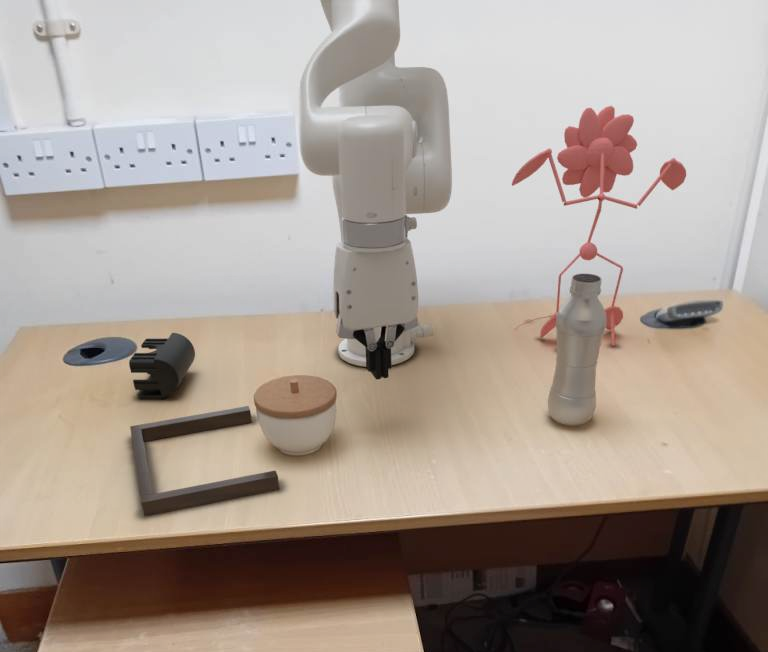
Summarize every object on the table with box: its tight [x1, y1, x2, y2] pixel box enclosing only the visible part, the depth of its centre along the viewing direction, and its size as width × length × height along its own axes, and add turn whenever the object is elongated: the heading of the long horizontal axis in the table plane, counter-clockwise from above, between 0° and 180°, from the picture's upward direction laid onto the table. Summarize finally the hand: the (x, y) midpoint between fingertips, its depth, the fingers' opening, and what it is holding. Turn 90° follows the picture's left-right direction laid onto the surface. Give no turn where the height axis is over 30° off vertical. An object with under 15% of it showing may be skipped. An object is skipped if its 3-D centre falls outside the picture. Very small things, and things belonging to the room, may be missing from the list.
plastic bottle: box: [547, 273, 607, 426], centre depth 105 cm, size 6×7×20 cm
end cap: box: [128, 332, 196, 400], centre depth 121 cm, size 10×7×7 cm
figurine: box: [511, 105, 687, 347], centre depth 125 cm, size 15×26×35 cm, turn 98°
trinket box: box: [253, 374, 338, 457], centre depth 104 cm, size 11×11×9 cm
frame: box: [129, 405, 280, 517], centre depth 103 cm, size 16×20×2 cm
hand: (379, 374), depth 104 cm, fingers closed
